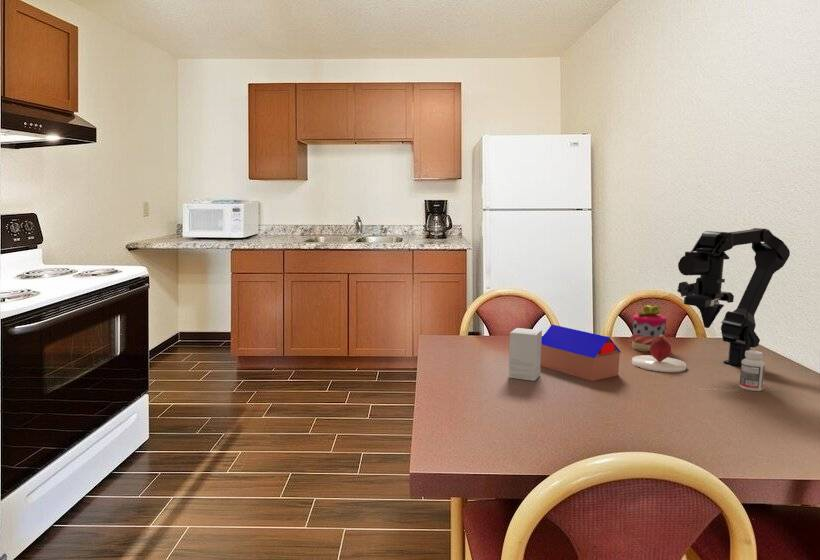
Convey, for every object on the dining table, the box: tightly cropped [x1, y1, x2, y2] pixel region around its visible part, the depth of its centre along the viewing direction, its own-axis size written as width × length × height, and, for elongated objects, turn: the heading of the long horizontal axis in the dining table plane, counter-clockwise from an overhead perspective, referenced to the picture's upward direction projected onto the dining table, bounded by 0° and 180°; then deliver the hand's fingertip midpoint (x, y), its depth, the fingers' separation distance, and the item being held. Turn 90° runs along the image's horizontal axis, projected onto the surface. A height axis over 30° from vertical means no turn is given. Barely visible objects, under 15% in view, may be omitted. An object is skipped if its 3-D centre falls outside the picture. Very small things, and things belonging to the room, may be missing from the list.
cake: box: [630, 305, 667, 352], centre depth 202 cm, size 10×10×15 cm
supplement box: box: [508, 327, 543, 382], centre depth 165 cm, size 7×7×13 cm
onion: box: [649, 335, 672, 361], centre depth 180 cm, size 6×6×8 cm
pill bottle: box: [739, 350, 766, 392], centre depth 159 cm, size 5×5×10 cm
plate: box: [631, 354, 688, 373], centre depth 181 cm, size 15×15×1 cm
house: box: [540, 324, 622, 382], centre depth 173 cm, size 12×20×12 cm, turn 36°
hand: (706, 327), depth 178 cm, fingers closed
